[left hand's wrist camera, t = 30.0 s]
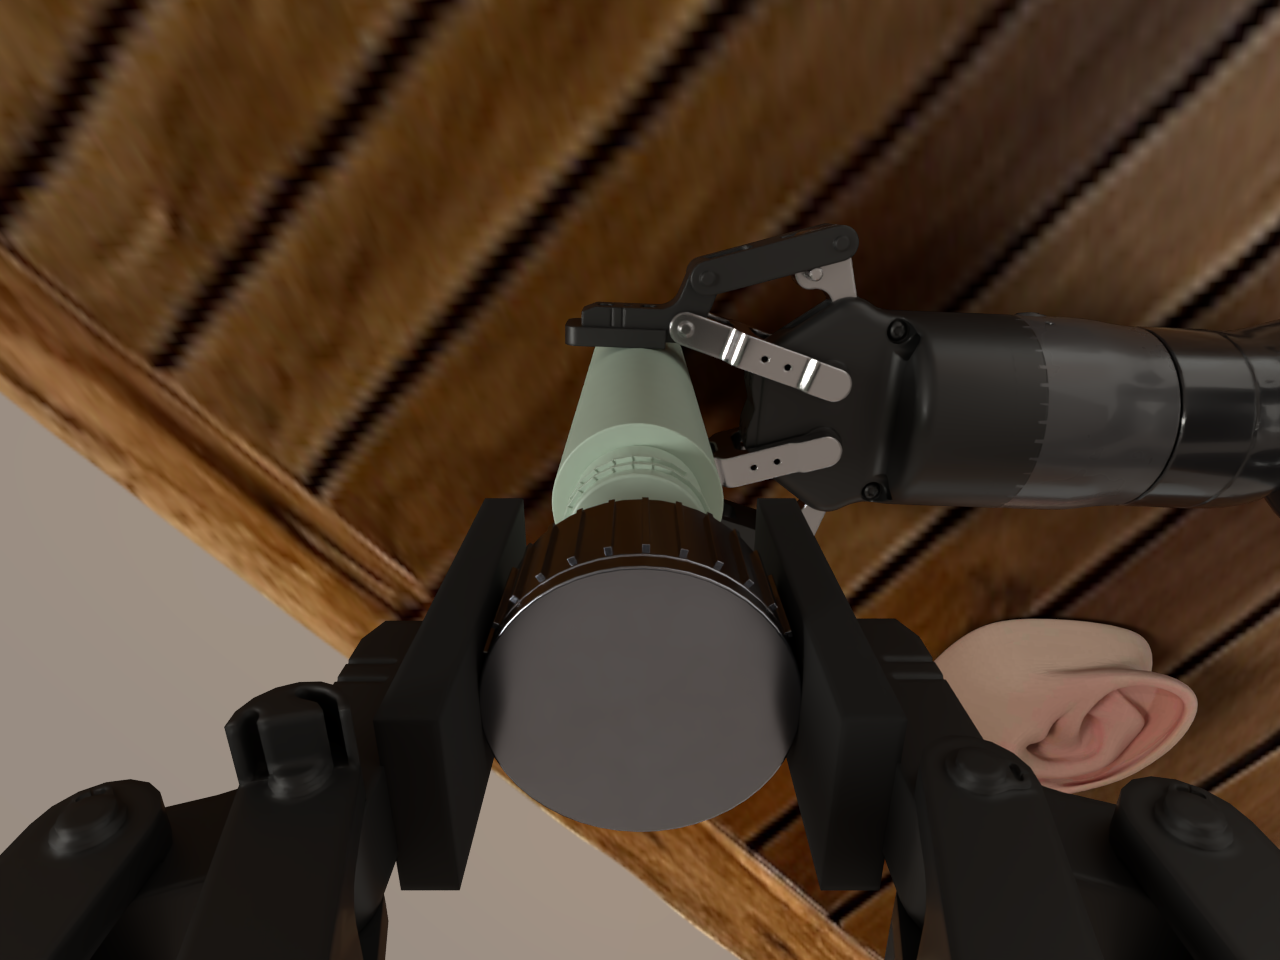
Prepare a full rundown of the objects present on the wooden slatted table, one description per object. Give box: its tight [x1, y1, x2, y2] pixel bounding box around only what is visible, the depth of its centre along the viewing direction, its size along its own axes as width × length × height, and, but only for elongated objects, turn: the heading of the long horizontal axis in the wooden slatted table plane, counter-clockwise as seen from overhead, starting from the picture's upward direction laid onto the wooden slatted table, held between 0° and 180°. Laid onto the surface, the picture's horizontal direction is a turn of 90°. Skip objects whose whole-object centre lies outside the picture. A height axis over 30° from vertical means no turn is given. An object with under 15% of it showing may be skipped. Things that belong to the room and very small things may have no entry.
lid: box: [478, 497, 802, 832], centre depth 12 cm, size 5×5×2 cm
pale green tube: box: [552, 343, 724, 524], centre depth 25 cm, size 4×4×20 cm
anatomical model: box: [934, 619, 1198, 794], centre depth 39 cm, size 13×4×12 cm
